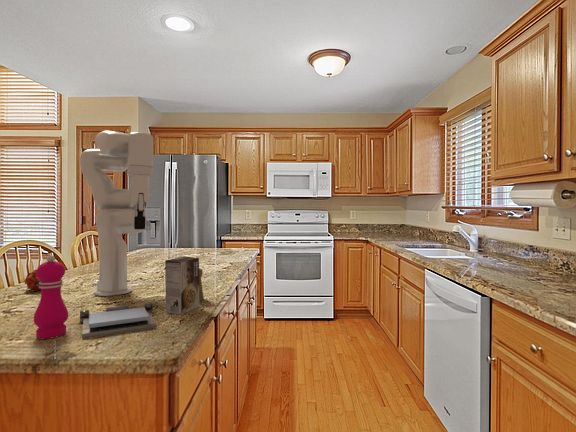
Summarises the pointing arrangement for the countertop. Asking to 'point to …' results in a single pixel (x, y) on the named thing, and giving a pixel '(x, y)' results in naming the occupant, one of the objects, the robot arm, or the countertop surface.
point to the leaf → (117, 316)
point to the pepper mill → (50, 300)
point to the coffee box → (182, 284)
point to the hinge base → (116, 325)
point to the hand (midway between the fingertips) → (139, 229)
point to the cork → (200, 286)
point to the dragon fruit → (32, 281)
